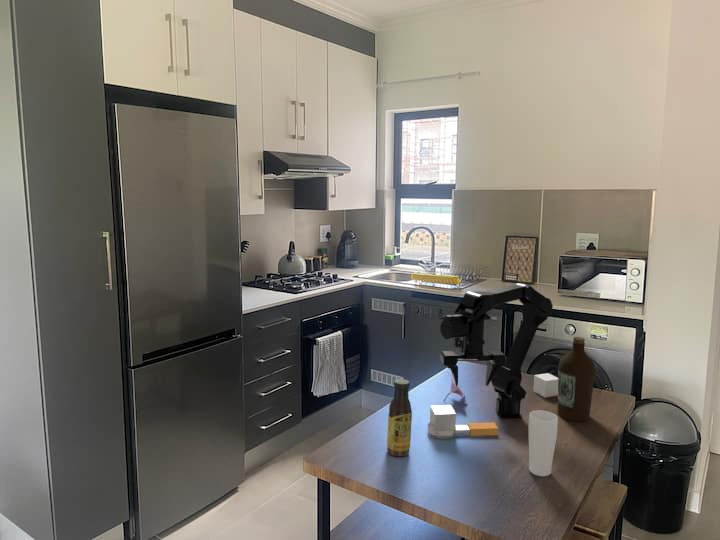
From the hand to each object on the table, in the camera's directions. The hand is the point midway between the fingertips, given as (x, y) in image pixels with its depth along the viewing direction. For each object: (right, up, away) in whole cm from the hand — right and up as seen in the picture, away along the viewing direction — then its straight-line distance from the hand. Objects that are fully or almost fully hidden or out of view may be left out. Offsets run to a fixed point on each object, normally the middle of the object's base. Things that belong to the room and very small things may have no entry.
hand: (471, 385), depth 159 cm
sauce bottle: (-23, -15, -16) cm, 31 cm away
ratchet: (-4, -13, -4) cm, 14 cm away
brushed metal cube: (-9, -11, -5) cm, 15 cm away
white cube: (+31, -9, +26) cm, 42 cm away
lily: (-1, -10, +18) cm, 21 cm away
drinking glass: (+12, -17, -25) cm, 32 cm away
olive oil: (+34, -11, +8) cm, 36 cm away
